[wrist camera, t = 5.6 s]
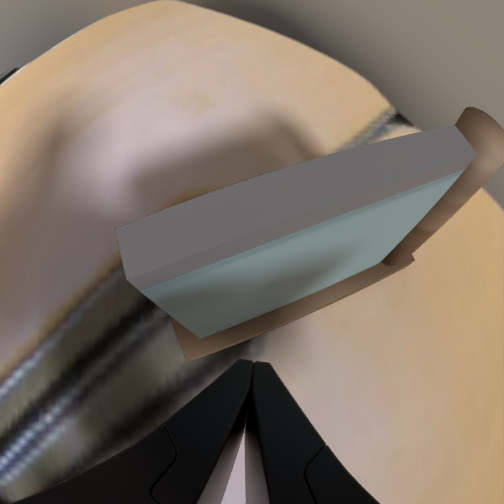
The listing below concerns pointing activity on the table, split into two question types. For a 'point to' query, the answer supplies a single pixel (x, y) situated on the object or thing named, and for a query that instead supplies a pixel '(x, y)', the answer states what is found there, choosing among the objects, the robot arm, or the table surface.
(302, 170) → the panel
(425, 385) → the table surface
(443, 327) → the table surface
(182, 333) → the brown l-shaped piece
